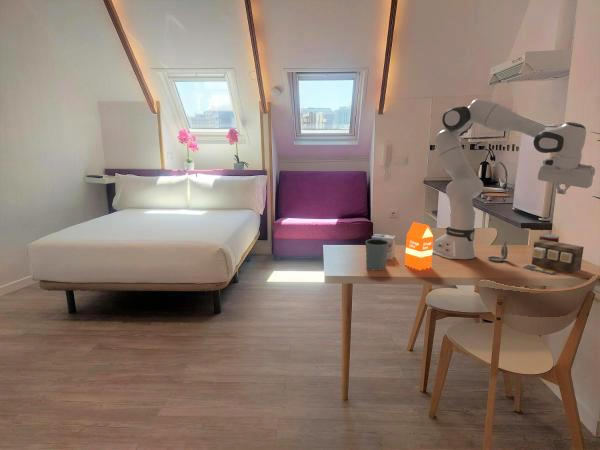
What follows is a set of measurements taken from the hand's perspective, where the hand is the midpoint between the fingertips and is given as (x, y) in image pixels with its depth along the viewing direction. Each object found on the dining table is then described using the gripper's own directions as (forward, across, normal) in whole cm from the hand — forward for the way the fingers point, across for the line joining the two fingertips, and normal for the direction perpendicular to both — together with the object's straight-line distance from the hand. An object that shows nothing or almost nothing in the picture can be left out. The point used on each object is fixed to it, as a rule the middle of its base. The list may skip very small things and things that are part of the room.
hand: (560, 193), depth 177 cm
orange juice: (+32, +36, +49) cm, 69 cm away
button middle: (+29, -4, +3) cm, 29 cm away
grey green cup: (+31, +47, +65) cm, 86 cm away
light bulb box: (+34, +56, +50) cm, 82 cm away
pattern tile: (+32, -2, +12) cm, 34 cm away
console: (+34, -4, +1) cm, 34 cm away
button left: (+29, +1, +5) cm, 29 cm away
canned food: (+36, +4, -12) cm, 38 cm away
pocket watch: (+35, +17, +12) cm, 40 cm away
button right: (+28, -9, +3) cm, 30 cm away
